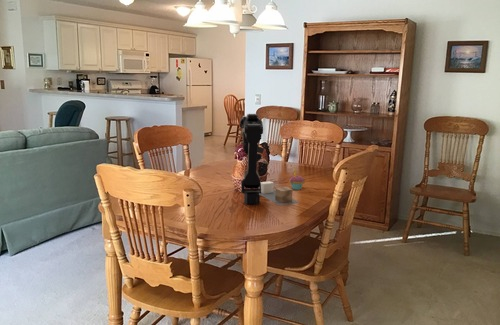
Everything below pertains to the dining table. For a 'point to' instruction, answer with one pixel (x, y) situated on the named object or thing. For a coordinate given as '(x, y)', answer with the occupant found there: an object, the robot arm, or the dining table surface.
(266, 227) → the dining table surface
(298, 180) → the cupcake
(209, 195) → the dining table surface
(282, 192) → the cube
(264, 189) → the flat grey tray
